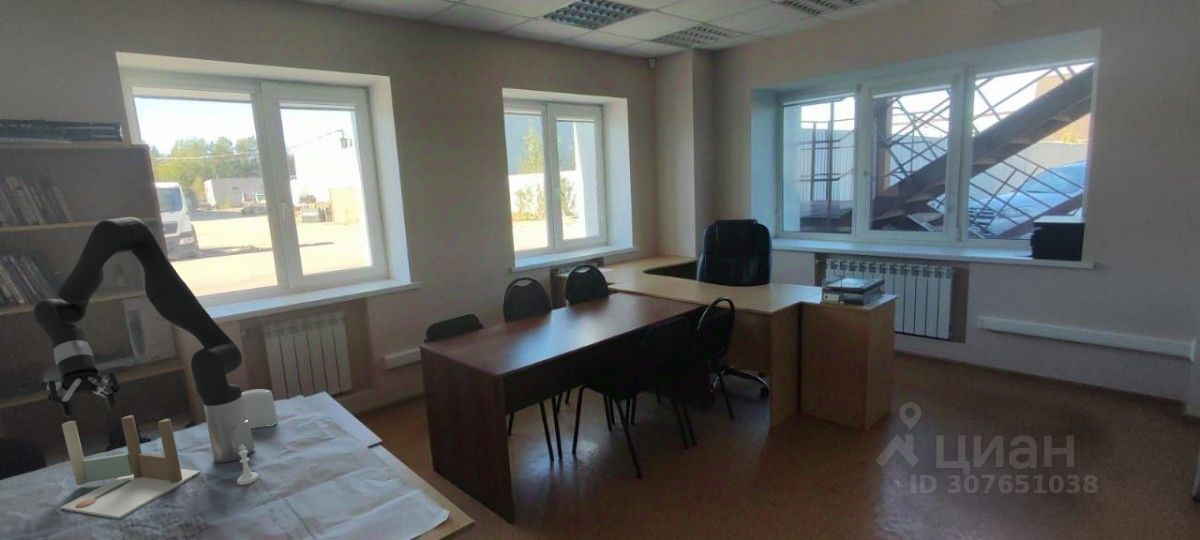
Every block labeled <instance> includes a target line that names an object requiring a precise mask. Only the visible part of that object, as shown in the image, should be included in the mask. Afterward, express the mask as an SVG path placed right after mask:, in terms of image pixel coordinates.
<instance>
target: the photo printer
mask: <svg viewBox="0 0 1200 540" xmlns="http://www.w3.org/2000/svg"><path fill="white" fill-rule="evenodd" d="M241 393H242V399H243V405H244V410H245V416H246V420H249V421H250V426H251V428H253V429H255V428H254V427H259V426H266V425H272V424H274V423H276V422H277V423H278V416H277V411H276V406H275V399H274V395H273V394H274V393H273V392H272V390H269V389H260V388H259V389H258V388H257V389H251V390H250V389H249V390H246V391H243V392H241Z"/></svg>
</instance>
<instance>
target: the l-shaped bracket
mask: <svg viewBox="0 0 1200 540" xmlns="http://www.w3.org/2000/svg"><path fill="white" fill-rule="evenodd" d="M61 427H62V428H61V429H62V431H63V435H64V439H65V444H66V447H67V452H68V456H69V457H68V458H69V459H70V464H71V468H72V472H73V476H74V479H75V484H76V486H82V485H85V484H88V483H92V482H98V481H104V480H109V479H117V478H119V477H124V476H130V475H133V471H132V466H131V462H130V457H129V453H120V454H115V455H114V454H113V455H107V456H106V455H105V456H100V457H94V458H88V459H85V456H84V453H83V449H82V444H81V439H80V436H79V432H78V431H79V430H78V427H77V423H76V421H75V420H70V421H66V422H64V423H62V424H61Z"/></svg>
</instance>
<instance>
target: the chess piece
mask: <svg viewBox="0 0 1200 540" xmlns="http://www.w3.org/2000/svg"><path fill="white" fill-rule="evenodd" d="M239 449H241V450H242V451H240V452H239V455H240V456H241V458H242V459H240V460H239V462H240V463H241V464H242V470H243V471H242V475H240V476H239V477H238V478H237V480H236V482H237V483H236V484H237V485H238V486H239V485H241V486H242V485H249V484H251V483H254V482H255V481H257V480H258V479H259V477H260V476H259V474H258V472H254V471H251V469H250V466H249V463H248V462H249V461H250V457H247V456H248V455H247V453H248V451H247V450H244V449H246V447H244V446H243V445H241V447H239Z"/></svg>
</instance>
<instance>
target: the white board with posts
mask: <svg viewBox="0 0 1200 540" xmlns="http://www.w3.org/2000/svg"><path fill="white" fill-rule="evenodd" d="M120 420H121V425H122V429H123V433H124V439H125V444H126V447H127V452H128V453H129V457H130V462H131V466H132V471H133V475H130V476H124V477H118V478H114V480H112V481H110V482H108V483H105V484H103V485H101V486H100V487H98V488H96V489H93V490H90V492H87V493H86V494H83V495H82V496H79V497H77V498H76V499H73V500H72V501H69V502H68V503H66V504H64V505H61V506H60V510H62V509H65V510H64V511H68V510H69V512H74V511H75V513H80V512H81V513H82V514H88V515H93V516H98V517H105V518H112V519H116V520H120V519H122V518H125V517H126V516H128V515H130V514H131V513H133V512H134V511H136V510H138V509H140V508H143V506H145V505H147V504H149V503H151V502H153V501H154V500H155V499H158V498H160V497H161V496H163V495H165V494H166V493H168V492H170V491H172V490H174V489H175V488H177V487H179V486H180V485H182V484H183V483H186V482H188V481H189V480H191V479H193V478H194V477H196V476H198V475H199V474H198V473H200V474H201V471H200V470H192V469H185V468H181V465H180V460H179V456H178V451H177V444H176V441H175V436H174V431H173V427H172V426H173V425H172V422H171V421H172V420H171V418H164V419H161V420H159V421H158V422H157V425H158V430H159V434H160V439H161V444H162V448H163V452H164V455H162V454H155V453H154V454H153V453H146V452H142V450H141V448H142V447H141V443H140V439H139V435H138V430H137V426H136V425H137V424H136V421H135V417H134V415H131V414H130V415H126V416H123V417H121V418H120ZM197 474H198V475H197ZM195 475H196V476H195ZM193 476H194V477H193ZM192 477H193V478H192ZM190 478H191V479H190ZM188 479H189V480H188ZM185 481H186V482H185Z"/></svg>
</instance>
